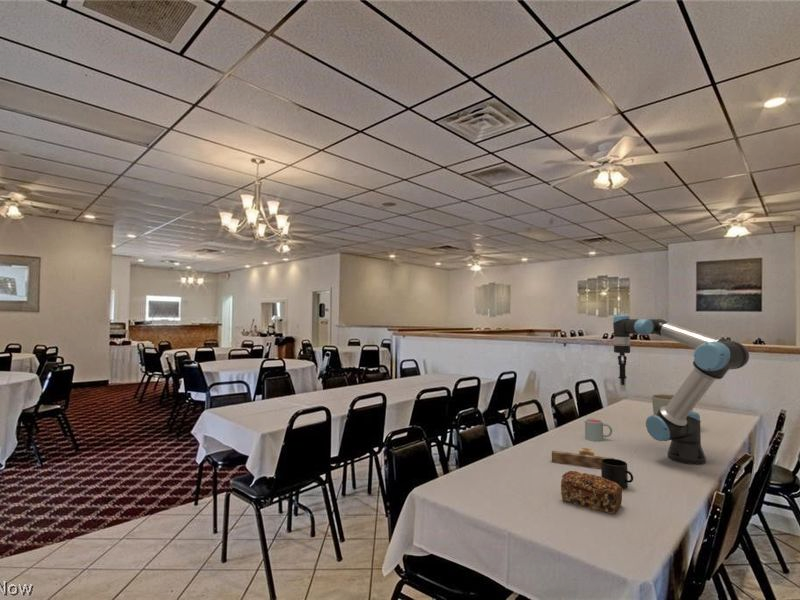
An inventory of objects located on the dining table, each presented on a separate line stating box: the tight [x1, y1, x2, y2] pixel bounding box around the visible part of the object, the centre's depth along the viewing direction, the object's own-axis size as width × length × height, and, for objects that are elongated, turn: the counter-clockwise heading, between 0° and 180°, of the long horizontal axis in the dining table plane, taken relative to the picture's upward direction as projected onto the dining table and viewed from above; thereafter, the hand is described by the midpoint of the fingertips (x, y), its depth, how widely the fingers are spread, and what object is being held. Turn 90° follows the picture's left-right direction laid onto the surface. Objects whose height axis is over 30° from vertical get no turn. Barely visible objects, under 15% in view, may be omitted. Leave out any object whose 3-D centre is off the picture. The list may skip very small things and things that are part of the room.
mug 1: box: [584, 418, 613, 443], centre depth 238 cm, size 14×9×10 cm
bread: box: [560, 470, 623, 515], centre depth 156 cm, size 19×11×10 cm, turn 49°
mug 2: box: [600, 457, 634, 490], centre depth 172 cm, size 9×12×9 cm
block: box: [578, 446, 595, 456], centre depth 200 cm, size 6×6×6 cm
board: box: [551, 450, 615, 470], centre depth 196 cm, size 26×3×5 cm, turn 64°
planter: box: [651, 393, 694, 415], centre depth 262 cm, size 21×21×19 cm
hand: (622, 391), depth 222 cm, fingers closed
